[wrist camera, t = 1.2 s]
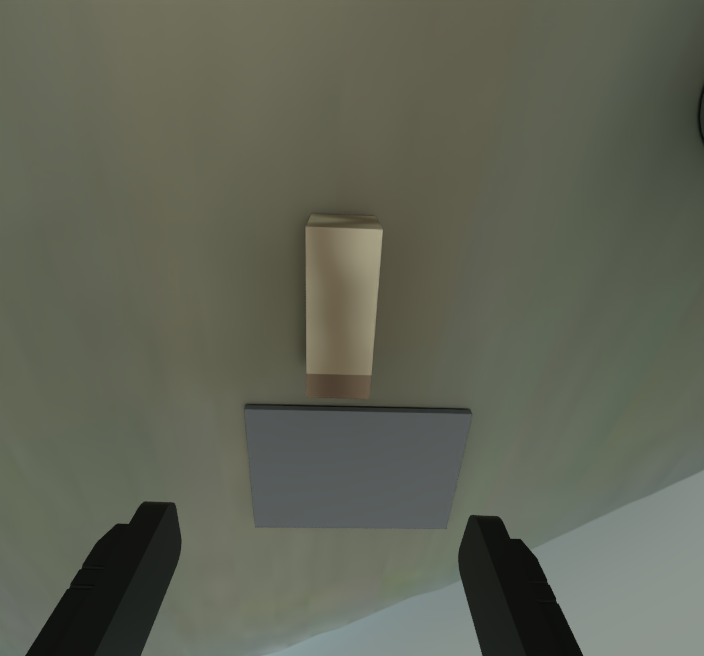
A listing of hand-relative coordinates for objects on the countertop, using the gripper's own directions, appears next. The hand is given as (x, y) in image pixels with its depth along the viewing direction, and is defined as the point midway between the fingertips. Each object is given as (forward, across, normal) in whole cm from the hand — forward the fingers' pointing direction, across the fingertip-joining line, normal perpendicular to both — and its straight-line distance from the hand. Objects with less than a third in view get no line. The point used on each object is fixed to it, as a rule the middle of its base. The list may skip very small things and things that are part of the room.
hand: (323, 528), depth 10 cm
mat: (+20, -3, +19) cm, 28 cm away
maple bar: (+20, 0, +1) cm, 20 cm away
